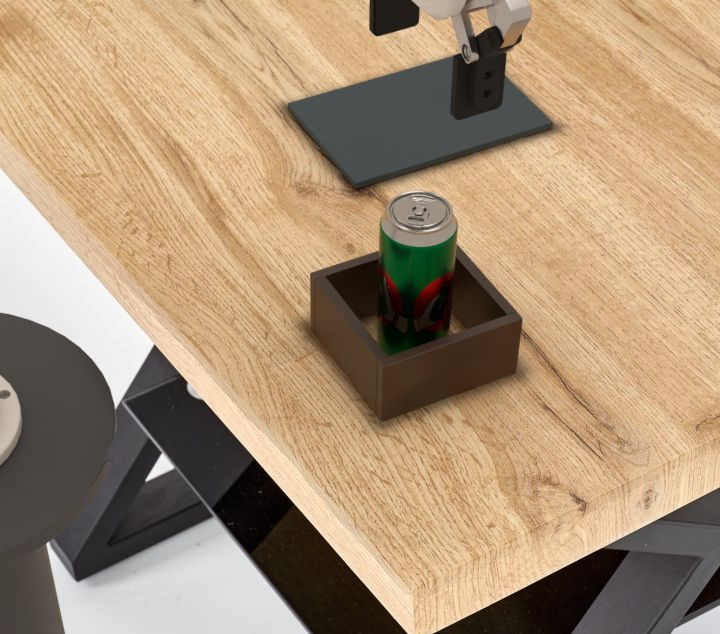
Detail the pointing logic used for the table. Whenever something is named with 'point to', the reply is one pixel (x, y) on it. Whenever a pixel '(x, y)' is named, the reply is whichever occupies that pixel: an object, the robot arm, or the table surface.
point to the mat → (408, 123)
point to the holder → (425, 362)
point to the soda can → (415, 271)
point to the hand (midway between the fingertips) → (433, 69)
